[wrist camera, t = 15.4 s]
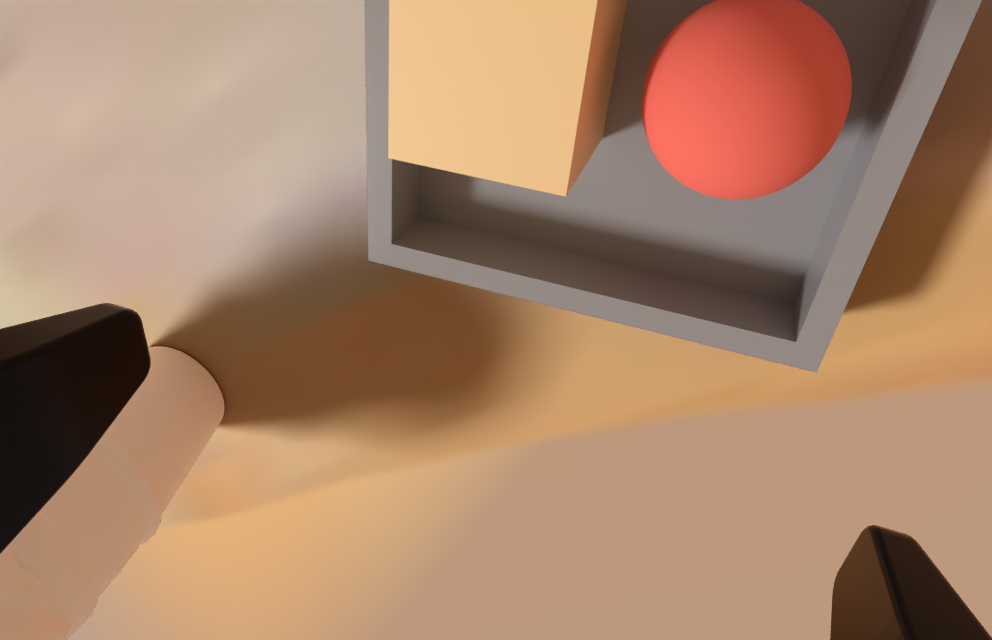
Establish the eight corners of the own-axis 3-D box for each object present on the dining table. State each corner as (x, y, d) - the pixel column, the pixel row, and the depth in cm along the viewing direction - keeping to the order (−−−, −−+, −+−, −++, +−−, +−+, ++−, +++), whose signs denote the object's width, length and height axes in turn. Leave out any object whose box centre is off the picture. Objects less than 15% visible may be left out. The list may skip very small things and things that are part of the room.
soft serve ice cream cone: (232, 306, 26) (-302, 734, 13) (293, 474, 30) (-64, 926, 17) (65, 297, 28) (-511, 641, 16) (142, 452, 33) (-263, 826, 20)
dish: (405, 224, 21) (368, 260, 19) (415, -286, 15) (359, -312, 13) (810, 320, 19) (816, 372, 17) (1045, -245, 12) (1101, -269, 10)
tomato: (636, 145, 17) (612, 207, 14) (674, -33, 15) (655, -8, 12) (803, 177, 16) (817, 250, 13) (868, -6, 14) (905, 29, 11)
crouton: (453, 109, 18) (388, 157, 15) (464, -62, 16) (389, -48, 13) (602, 138, 17) (565, 196, 14) (634, -38, 15) (600, -17, 12)
